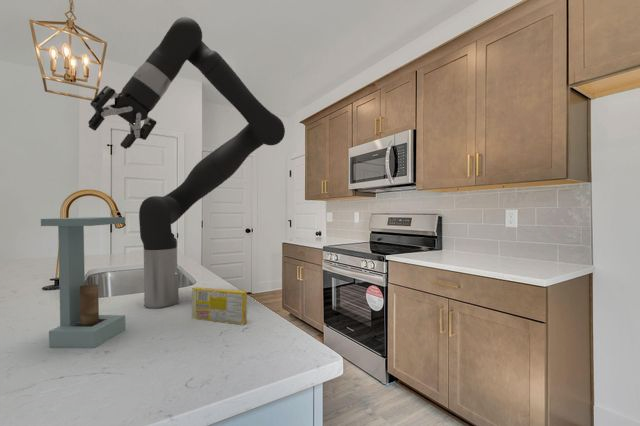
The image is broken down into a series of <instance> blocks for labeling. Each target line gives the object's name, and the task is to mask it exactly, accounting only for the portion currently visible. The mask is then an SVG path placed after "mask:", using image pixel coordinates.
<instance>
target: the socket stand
mask: <svg viewBox="0 0 640 426" xmlns="http://www.w3.org/2000/svg"><path fill="white" fill-rule="evenodd" d="M119 224H120V225H121V224H122V225H123V224H126V217H125V216H112V217H111V216H108V217H107V216H103V217H102V216H99V217H98V216H97V217H96V216H94V217H93V216H89V217H87V216H86V217H85V216H83V217H59V218H56V217H54V218H40V227H57V229H58V230H57V231H58V235H57V236H58V277H59V278H58V279H59V283H58V286H59V322H60V323H59V324H60V325H59V326H57V327H55V328H52V329H50V330H48V347H49V348H79V349H81V348H88V349H89V348H91V349H94V348H97V347H99V346H101V344H104V343H105V342H106V341H108V340H110V339H112V338H113V337H115V336H117V335H118V334H120V333H122V332H124V331H125V330H126V315H124V314H121V315H120V314H99V323H98V324H96V325H94V326H92V327H80V286H83V285H86V283H85V280H86V279H85V230H84V228H85V227H94V226H107V225H119Z"/></svg>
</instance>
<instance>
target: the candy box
mask: <svg viewBox="0 0 640 426" xmlns="http://www.w3.org/2000/svg"><path fill="white" fill-rule="evenodd" d="M191 291H192V292H191V319H194V318H195V319H197V320H201V319H204V320H203V321H209V320H213V321H212V322H217V321H221V322H220V323H224V322H228V323H227V324H232V323H235V324H234V325H240V324H244V325H245V324H247V323H246V322H247V321H248V320H247V318H248V316H247V315H248V314H247V312H248V310H247V308H248V307H247V304H248V302H247V301H248V300H247V299H248V297H247V296H248V293H247V292H248V291H244V290H234V289H233V290H232V289H223V288H222V289H221V288H211V287H210V288H209V287H199V286H195V287H192V290H191Z"/></svg>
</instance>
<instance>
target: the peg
mask: <svg viewBox="0 0 640 426" xmlns="http://www.w3.org/2000/svg"><path fill="white" fill-rule="evenodd" d="M99 312H100V310H99V284H98V283H90V284H85V285H83V286H80V327H92V326H94V325H96V324H98V323H99V315H100V314H99Z"/></svg>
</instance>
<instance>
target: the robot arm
mask: <svg viewBox="0 0 640 426" xmlns="http://www.w3.org/2000/svg"><path fill="white" fill-rule="evenodd" d="M187 61H188V62H189V63H190V64H191V65H192V66H194V67H195V68H196V69H197V70H199V72H200V73H201V74H202V75H203V77H205V79H206V80H207V81H208V82H209V83H210V84H211V85H212V86H213V87H214V88H215V89H216V90H217V91H218V93H220V95H222V96H223V97H224V98H225V99H226V100H227V101H228V102H229V103H230V104H231V105H232V106H233V107H234V108H235V109H236V110H237V111H238V112H239V113H240V115H241V116H242V117H243V118H244V120H245V121H246V122H247V124H246V126H245V127H243V128H242V129H241V130H240V131H239V132H238V133H237V134H236V135H235V136H233V137H232V138H230V139H229V140H227V141H226V142H224V143H223V144H221V145H220V146H219V147H217V148H215V149H214V150H213V151H212V152H210V153H209V154H207V155H206V156H205V157H204V158H203V159H201V160H200V161H198V162H197V163H196V164H195V166H194V167H193V168H192V169H191V171H190V172H189V174H188V175H187V177H186V178H185V180H184V181H183V182H182V183H181V184H180V185H179V186H178V187H176V188H175V189H173V190H172V191H170V192H169V193H167V194H165V195H164V196H158V195H156V196H155V195H151V196H148V197H147V198H145V199H144V200H143V201H142V202H141V204H140V207H139V212H138V213H139V214H138V223H139V234H140V240H141V242H142V244H143V288H144V289H143V291H144V292H143V293H144V296H143V297H144V298H143V301H144V307H145V308H150V309H155V308H156V309H157V308H166V307H170V306H173V305H176V304H180V298H179V297H180V296H179V272H178V239H177V238H176V237H174V234H173V232H172V224H174V223H176V222H177V221H178V220H179V219H180V218H181V217H182V216H183V215H184V214H185V213H186V212H188V210H189V209H191V208H192V206H193V205H194V204H196V203H197V202H198V201H199V200H201V199H203V198H204V197H205V196H207V195H208V194H209V193H211V192H212V191H214V190H215V189H216V188H218V187H220V186H221V185H222V184H223V183H224V182H226V181H227V180H228V179H230V178H231V177H232V176H233V175H234V174H235V173H236V172H237V171H238V169H240V167H241V166H242V164H243V163H244V162H245V160H246V159H247V158H248V157H249V156H250V155H251V154H252V153H253V152H254V151H256V150H257V149H259V148H260V147H262V146H264V145H266V146H276V145H279V144H280V143H282V141H283V139H284V138H285V135H286V130H285V129H286V127H285V125H284V122H283V121H282V119H281V118H280V117H279V116H277V115H276V114H274V113H273V112H271V111H270V110H268V109H267V108H266V107H265V106H264V105H263V104H262V102H260V101H259V100H258V98H256V97H255V95H254V94H253V93H252V92H251V91H250V90H249V88H248V87H247V86H246V84H245V83H244V82H243V81H242V79H241V78H240V77H239V76H238V75H237V73H236V71H234V70H233V68H232V67H231V66H230V65H229V64H228V62H227V61H226V60H225V59H224V58H223V57H222V56H221V54H219V52H217V51H216V50H212V49H211V48H209V46H208V45H206V43H204V41H203V31H202V28H201V27H200V25H199V23H198V22H197V21H196V20H195V19H193V18H191V17H187V16H184V17H183V16H182V17H179V18H177V19H176V20H175V21H173V23H172V24H171V26H170V28H169V29H168V31H167V32H166V33H165V35H164V36H163V38H162V40H161V41H160V43H159V45H157V47H156V48H155V49H154V50H153V51H152V52H151V53H150V55H149V56H148V57H147V59H146V60H144V62H143V64H141V65H140V66H139V67H138V68H137V69H136V71H135V72H134V73H133V75H132V76H131V78H129V80H128V81H126V82H127V83H126V84H125V85H124V86H123V87H122V90H121V92H119V93H117V92H116V90H115V89H114V88H112V87H110V86H108V85H105V86H104V87H103V88H102V89H101V91H99V93H98V94H97V95H96V96H95V97H94V98H93V100H91V102H90V106H91V107H92V108H93V109H94V111H95V112H94V114H93V115H92V117H90V119H89V120H88V123H87V124H88V127H89V128H90V129H91V130H93V131H97V130H98V128H99V127H100V126H101V124H102V123H103V122H104V120H105V117H109V116H116V115H117V116H119V117H120V118H122V119H123V120H124V121H126V122H127V123H128V125H129V133H127V134H126V136H125V137H124V138H123V140H122V141H121V143H120V147H122V148H123V149H130V147H132V146H133V144H134V142H135V141H136V140H137V139H141V140H142V141H143V140H144V141H146V140H147V138H148V137H149V135H150V134H151V132H152V131H153V130H154V128H155V126H156V125H157V121H156V120H155V119H153V118H151V117H149V115H148V114H149V113H150V112H151V111H152V110H153V109H154V108H155V107H156V106H157V105H158V103H159V101H160V100H161V99H162V97H163V96H164V95H165V93H167V91H168V89H169V87H170V85H171V84H172V82H174V79H175V78H176V77H177V76H178V74H179V72H180V71H181V70H182V67H183V66H184V64H185V63H186V62H187ZM112 99H114V103H112V104H111V103H110V104H107V103H108V102H109V101H110V100H112ZM106 104H107V105H106ZM141 121H143V125H141V124H142V122H141Z"/></svg>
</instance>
